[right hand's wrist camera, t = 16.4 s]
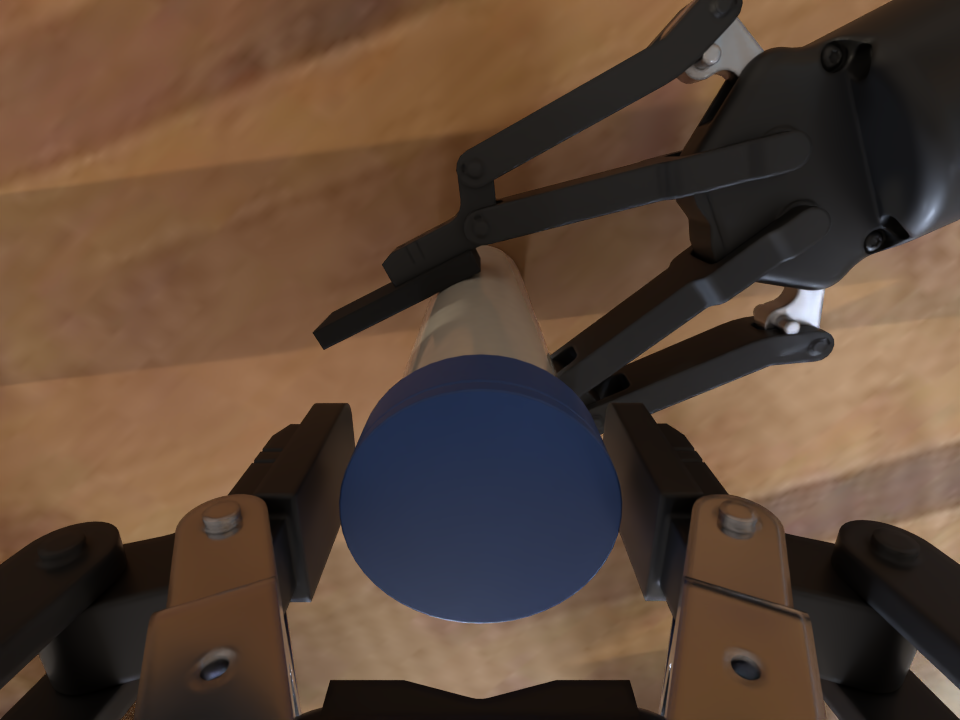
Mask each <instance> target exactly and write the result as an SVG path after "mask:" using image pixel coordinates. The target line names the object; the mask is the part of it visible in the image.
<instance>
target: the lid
mask: <svg viewBox="0 0 960 720" xmlns="http://www.w3.org/2000/svg"><path fill="white" fill-rule="evenodd" d="M339 513H340V521H341V526H342V531H343V535H344V537H345V540H346V543H347V546H348V548H349V550H350V552H351V554H352V556H353V557H354V559H355V561H356V562H357V564H358V565H359V567H360V568H361V569H362V571H363V572H364V573H365V574H366V575H367V576H368V578H369V579H370V580H371V581H372V582H373V583H374V584H375V585H376V586H378V587H379V588H380V589H381V590H382V591H384V592H385V593H386V594H387V595H389V596H391V597H392V598H394V599H395V600H397V601H398V602H400V603H402V604H404V605H406V606H408V607H410V608H412V609H414V610H416V611H419V612H421V613H424V614H427V615H429V616H433V617H437V618H441V619H445V620H449V621H456V622H463V623H498V622H505V621H512V620H516V619H520V618H524V617H528V616H532V615H534V614H537V613H540V612H543V611H545V610H547V609H549V608H551V607H553V606H555V605H558V604H560V603H561V602H563V601H564V600H566V599H568V598H569V597H571V596H572V595H574V594H575V593H576V592H577V591H579V590H580V589H581V588H582V587H584V586H585V585H586V584H587V583H588V582H589V581H590V580H591V579H592V578H593V577H594V576H595V575H596V574H597V572H598V571H599V569H600V568H601V567H602V565H603V564H604V563H605V561H606V560H607V558H608V556H609V554H610V552H611V550H612V549H613V546H614V544H615V541H616V538H617V536H618V533H619V528H620V523H621V518H622V495H621V487H620V483H619V479H618V476H617V472H616V470H615V467H614V465H613V463H612V461H611V458H610V456H609V454H608V452H607V449H606V447H605V445H604V443H603V440H602V438H601V436H600V433H599V431H598V429H597V427H596V425H595V422H594V420H593V418H592V416H591V414H590V412H589V411H588V409H587V408H586V406H585V405H584V403H583V402H582V400H581V399H580V398H579V397H578V396H577V395H576V394H575V392H574V391H573V390H572V389H571V388H569V387H568V386H567V385H566V384H565V383H564V382H562V381H561V380H560V379H558V378H557V377H555V376H554V375H552V374H551V373H549V372H548V371H546V370H544V369H541V368H539V367H537V366H535V365H533V364H531V363H527V362H524V361H521V360H518V359H515V358H510V357H504V356H499V355H485V354H477V355H462V356H457V357H451V358H446V359H443V360H440V361H437V362H434V363H431V364H428V365H426V366H424V367H422V368H420V369H418V370H415V371H414V372H412V373H411V374H409V375H407V376H406V377H404V378H403V379H401V380H400V381H399V382H398V383H397V384H395V385H394V386H393V387H392V388H391V389H389V390H388V392H387V393H386V394H385V395H384V396H383V397H382V398H381V399H380V401H379V402H378V403H377V405H376V406H375V408H374V409H373V411H372V412H371V414H370V416H369V418H368V420H367V423H366V425H365V427H364V429H363V431H362V434H361V436H360V438H359V441H358V443H357V445H356V448H355V450H354V452H353V454H352V457H351V459H350V461H349V464H348V466H347V468H346V471H345V474H344V477H343V481H342V484H341V490H340V498H339Z"/></svg>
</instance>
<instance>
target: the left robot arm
mask: <svg viewBox="0 0 960 720" xmlns="http://www.w3.org/2000/svg"><path fill="white" fill-rule="evenodd" d="M742 4H743V3H742V0H693V1H692V2H690V3H689V4H688V5H686V6H685V7H684V8H683V9H681V10H680V11H679V12H678V13H677V14H676V16H675V17H674V18H673V19H672V20H671V21H670V22H669V23H668V24H667V26H666V27H665V28H664V29H663V30H662V31H661V32H660V33H659V35H658V36H657V37H656V38H655V39H654V40H653V41H652V42H651V44H650V45H649V46H648V47H647V48H646V49H644V50H642V51H641V52H639V53H637V54H635V55H634V56H632V57H630V58H628V59H627V60H625V61H623V62H621V63H620V64H618V65H616V66H614V67H613V68H611V69H609V70H607V71H606V72H604V73H602V74H600V75H599V76H597V77H595V78H593V79H592V80H590V81H588V82H586V83H585V84H583V85H581V86H579V87H578V88H576V89H574V90H572V91H571V92H569V93H567V94H565V95H564V96H562V97H560V98H558V99H557V100H555V101H553V102H551V103H550V104H548V105H546V106H544V107H543V108H541V109H539V110H537V111H536V112H534V113H532V114H530V115H529V116H527V117H525V118H523V119H522V120H520V121H518V122H516V123H515V124H513V125H511V126H509V127H508V128H506V129H504V130H502V131H501V132H499V133H497V134H495V135H494V136H492V137H490V138H488V139H487V140H485V141H483V142H481V143H480V144H478V145H476V146H474V147H473V148H471V149H469V150H467V151H466V152H465V153H463V154H462V155H461V156H460V158H459V160H458V162H457V169H456V171H457V175H458V183H459V191H460V198H461V206H460V210H459V212H458V213H457V214H456V215H455V216H454V217H453V218H452V219H450V220H448V221H446V222H444V223H442V224H440V225H438V226H437V227H435V228H433V229H431V230H429V231H427V232H425V233H423V234H421V235H420V236H417V237H416V238H414V239H412V240H410V241H408V242H406V243H404V244H402V245H400V246H398V247H397V248H396V249H395V250H394V251H393V252H392V253H391V254H390V255H389V257H388V258H387V259H386V260H385V261H384V263H383V264H382V266H383V267H384V269H385V271H386V273H387V274H388V276H389V278H390V280H391V281H392V282H391V283H389V284H387V285H385V286H383V287H381V288H379V289H377V290H375V291H373V292H371V293H369V294H367V295H365V296H363V297H362V298H360V299H358V300H356V301H354V302H352V303H350V304H348V305H346V306H344V307H342V308H340V309H338V310H336V311H334V312H332V313H331V314H330V315H329V316H328V317H327V318H326V319H325V321H324V322H323V323H322V324H321V325H320V326H319V327H318V328H317V329H316V330H315V331H314V332H313V334H314V336H315V337H316V339H317V340H318V342H319V343H320V345H321V346H322V348H323V349H324V350H325V349H327V348H329V347H331V346H333V345H335V344H337V343H339V342H341V341H343V340H345V339H347V338H349V337H351V336H353V335H355V334H357V333H359V332H361V331H363V330H365V329H367V328H369V327H371V326H373V325H375V324H377V323H379V322H381V321H383V320H385V319H387V318H389V317H391V316H393V315H395V314H397V313H399V312H401V311H403V310H405V309H407V308H409V307H411V306H413V305H415V304H417V303H419V302H421V301H423V300H425V299H427V298H429V297H431V296H433V295H435V294H437V293H439V292H441V291H443V290H445V289H447V288H449V287H451V286H452V285H455V284H457V283H459V282H461V281H463V280H465V279H467V278H469V277H471V276H473V275H475V274H477V273H479V272H481V258H480V256H479V254H478V252H477V250H476V248H477V247H479V246H481V245H488V244H492V243H496V242H500V241H504V240H508V239H512V238H516V237H520V236H524V235H528V234H532V233H536V232H540V231H544V230H548V229H552V228H556V227H560V226H563V225H567V224H571V223H575V222H579V221H583V220H587V219H591V218H595V217H599V216H603V215H607V214H611V213H615V212H619V211H623V210H627V209H631V208H635V207H639V206H643V205H647V204H650V203H654V202H658V201H663V200H671V199H676V202H677V203H678V204H679V206H680V207H681V209H682V210H683V211H684V213H685V214H686V215H687V217H688V219H689V234H690V242H691V244H692V245H691V246H690V247H689V248H687V249H686V250H685V251H683V252H682V253H681V254H679V255H678V256H677V257H675V258H674V259H673V260H672V262H671V263H670V266H669V267H668V268H667V269H666V270H665V271H664V272H662V273H661V274H660V275H658V276H657V277H656V278H654V279H653V280H652V281H650V282H649V283H648V284H646V285H645V286H643V287H642V288H641V289H639V290H638V291H637V292H635V293H634V294H633V295H631V296H630V297H629V298H627V299H626V300H625V301H623V302H622V303H620V304H619V305H618V306H616V307H615V308H614V309H612V310H611V311H610V312H608V313H607V314H606V315H604V316H603V317H602V318H600V319H599V320H597V321H596V322H595V323H593V324H592V325H591V326H589V327H588V328H587V329H585V330H584V331H583V332H581V333H580V334H579V335H577V336H576V337H574V338H573V339H572V340H570V341H569V342H568V343H566V344H565V345H564V346H562V347H561V348H560V349H558V350H557V351H556V352H554V353H553V354H551V355H550V356H551V359H552V362H553V364H554V367H555V370H556V373H557V375H558V378H559V379H560V380H561V381H562V382H564V383H565V384H566V385H567V386H568V387H569V388H571V389H572V390H573V391H574V392H575V394H576V395H577V396H578V397H579V398H580V399H581V400H582V402H583V403H584V405H585V406H586V408H587V409H588V411H589V412H590V414H591V416H592V418H593V420H594V422H595V425H596V427H597V429H598V431H599V433H600V435H601V434H603V433H604V425H605V415H606V409H607V406H608V404H609V403H643V404H644V405H645V407H646V408H647V410H648V411H649V413H650V414H652V413H655V412H657V411H660V410H662V409H665V408H667V407H670V406H672V405H675V404H677V403H679V402H682V401H684V400H687V399H689V398H692V397H694V396H697V395H699V394H702V393H704V392H707V391H709V390H711V389H714V388H716V387H719V386H721V385H724V384H726V383H729V382H731V381H734V380H736V379H739V378H741V377H743V376H746V375H748V374H751V373H753V372H756V371H758V370H761V369H763V368H766V367H768V366H770V365H781V364H792V363H803V362H814V361H819V360H822V359H824V358H825V357H827V356H828V355H829V354H830V353H831V351H832V349H833V347H834V339H833V337H832V335H831V334H829V333H827V332H826V331H824V330H822V329H820V327H819V326H820V320H821V313H822V306H823V299H824V292H825V288H828V287H830V286H832V285H834V284H835V283H837V282H838V281H840V280H841V279H842V278H843V277H844V276H845V275H846V274H847V273H848V272H849V270H850V269H851V268H852V267H854V266H855V265H856V264H857V263H858V262H859V261H861V260H862V259H864V258H865V257H867V256H869V255H871V254H874V253H877V252H880V251H883V250H886V249H889V248H892V247H895V246H898V245H901V244H904V243H907V242H909V241H912V240H914V239H917V238H919V237H921V236H923V235H926V234H928V233H930V232H932V231H935V230H937V229H939V228H941V227H944V226H946V225H948V224H950V223H953V222H955V221H957V220H959V219H960V0H892V1H890V2H888V3H887V4H885V5H883V6H881V7H879V8H877V9H875V10H873V11H871V12H869V13H867V14H865V15H864V16H862V17H860V18H858V19H856V20H854V21H852V22H850V23H848V24H846V25H844V26H842V27H840V28H839V29H837V30H835V31H833V32H831V33H829V34H827V35H825V36H823V37H821V38H819V39H817V40H815V41H814V42H812V43H810V44H808V45H806V46H804V47H798V48H789V47H776V48H771V49H768V50H766V51H764V50H763V49H762V48H761V47H760V45H759V44H758V43H757V42H756V40H755V39H754V38H753V36H752V35H751V34H750V33H749V31H748V30H747V29H746V27H745V26H744V25H743V24H742V22H741V21H740V20H739V19H738V17H737V16H738V15H739V13H740V11H741V7H742ZM713 74H717V75H720V76H722V77H723V78H724V79H725V82H724V84H723V85H722V87H721V89H720V90H719V92H718V93H717V95H716V97H715V98H714V100H713V102H712V103H711V105H710V107H709V108H708V110H707V111H706V113H705V115H704V116H703V118H702V120H701V121H700V123H699V125H698V126H697V128H696V129H695V131H694V133H693V134H692V136H691V138H690V139H689V141H688V143H687V144H686V146H685V147H684V149H683V150H681V151H678V152H674V153H670V154H666V155H662V156H658V157H655V158H651V159H647V160H644V161H641V162H639V163H635V164H632V165H628V166H624V167H620V168H616V169H612V170H609V171H605V172H601V173H597V174H593V175H589V176H586V177H582V178H578V179H574V180H570V181H566V182H563V183H559V184H555V185H551V186H547V187H543V188H540V189H536V190H532V191H528V192H524V193H520V194H516V195H513V196H509V197H505V198H501V199H497V200H496V197H495V188H494V179H496V178H498V177H500V176H502V175H503V174H505V173H507V172H509V171H511V170H512V169H514V168H516V167H518V166H520V165H522V164H523V163H525V162H527V161H529V160H531V159H532V158H534V157H536V156H538V155H540V154H541V153H543V152H545V151H547V150H549V149H550V148H552V147H554V146H556V145H558V144H559V143H561V142H563V141H565V140H567V139H568V138H570V137H572V136H574V135H576V134H577V133H579V132H581V131H583V130H585V129H586V128H588V127H590V126H592V125H594V124H595V123H597V122H599V121H601V120H603V119H604V118H606V117H608V116H610V115H612V114H613V113H615V112H617V111H619V110H621V109H623V108H624V107H626V106H628V105H630V104H632V103H633V102H635V101H637V100H639V99H641V98H642V97H644V96H646V95H648V94H650V93H651V92H653V91H655V90H657V89H659V88H660V87H662V86H664V85H666V84H667V83H669V82H670V81H672V80H674V79H675V78H677V79H679V80H680V81H681V82H683V83H685V84H692V83H696V82H699V81H701V80H704V79H707V78H709V77H710V76H712V75H713ZM754 282H759V283H765V284H771V285H777V286H783V287H784V290H783V292H782V293H781V295H780V296H779V297H778V298H776V299H775V300H772V301H770V302H767V303H764V304H759V305H758V306H756V307H755V308H754V311H753V315H754V316H751V317H744V318H740V319H736V320H732V321H730V322H727V323H724V324H722V325H719V326H717V327H714V328H712V329H710V330H707V331H705V332H703V333H700V334H698V335H696V336H693V337H691V338H689V339H686V340H684V341H682V342H679V343H677V344H674V345H672V346H670V347H667V348H665V349H663V350H660V351H658V352H656V353H653V354H651V355H649V356H646V357H644V358H642V359H639V360H637V361H635V362H632V363H630V364H628V363H629V362H631V361H632V360H634V359H635V358H636V357H638V356H639V355H641V354H642V353H644V352H645V351H646V350H648V349H649V348H651V347H652V346H653V345H655V344H656V343H658V342H659V341H661V340H662V339H663V338H665V337H666V336H668V335H669V334H670V333H672V332H673V331H675V330H676V329H678V328H679V327H680V326H682V325H683V324H685V323H686V322H688V321H689V320H690V319H692V318H693V317H695V316H696V315H697V314H699V313H700V312H702V311H703V310H705V309H706V308H708V307H710V306H714V305H720V304H722V303H725V302H727V301H728V300H730V299H731V298H733V297H734V296H736V295H737V294H739V293H740V292H741V291H743V290H744V289H746V288H747V287H749V286H750V285H751V284H753V283H754ZM626 364H627V365H626Z"/></svg>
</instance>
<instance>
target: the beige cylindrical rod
mask: <svg viewBox="0 0 960 720" xmlns="http://www.w3.org/2000/svg"><path fill="white" fill-rule="evenodd" d="M476 250H477V252H478V254H479V256H480V258H481V272H479V273H477V274H475V275H473V276H471V277H469V278H467V279H465V280H463V281H461V282H459V283H457V284H455V285H452V286H451V287H449V288H447V289H445V290H443V291H441V292H439V293H437V294H435V295H433V296H432V297H431V299H430V302H429V305H428V308H427V310H426V313H425V316H424V319H423V322H422V324H421V327H420V330H419V333H418V336H417V338H416V341H415V344H414V347H413V350H412V352H411V355H410V358H409V361H408V364H407V366H406V369H405V372H404V375H403V378H404V377H406V376H407V375H409V374H411V373H412V372H414V371H415V370H418V369H420V368H422V367H424V366H426V365H428V364H431V363H434V362H437V361H440V360H443V359H446V358H451V357H457V356H462V355H477V354H485V355H499V356H504V357H510V358H515V359H518V360H521V361H524V362H527V363H531V364H533V365H535V366H537V367H539V368H541V369H544V370H546V371H548V372H549V373H551V374H552V375H554V376H555V377H557V378H558V375H557V373H556V370H555V367H554V364H553V362H552V359H551V356H550V353H549V351H548V348H547V345H546V343H545V340H544V337H543V334H542V332H541V329H540V326H539V323H538V321H537V318H536V315H535V312H534V310H533V307H532V304H531V301H530V299H529V296H528V293H527V291H526V288H525V285H524V282H523V280H522V277H521V274H520V272H519V269H518V267H517V265H516V264H515V262H514V261H513V260H512V259H511V258H510V257H509V256H508V255H507V254H506V253H504V252H503V251H501V250H499V249H497V248H495V247H492V246H488V245H481V246H479V247H477V248H476ZM403 378H402V379H403ZM558 379H559V378H558Z"/></svg>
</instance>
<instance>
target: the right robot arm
mask: <svg viewBox="0 0 960 720" xmlns="http://www.w3.org/2000/svg"><path fill="white" fill-rule="evenodd" d="M603 443H604V445H605V447H606V449H607V452H608V454H609V456H610V458H611V461H612V463H613V465H614V467H615V470H616V472H617V476H618V479H619V483H620V487H621V495H622V518H621V523H620V528H619V532H620V535H621V537H622V540H623V543H624V545H625V548H626V551H627V553H628V556H629V559H630V561H631V564H632V566H633V569H634V572H635V574H636V577H637V580H638V582H639V585H640V588H641V590H642V593H643V596H644V598H645V601H667V604H668V606H669V608H670V611H671V613H672V615H673V619H672V624H671V630H670V637H669V644H668V651H667V658H666V665H665V671H664V678H663V685H662V692H661V699H660V706H659V712H658V714H656V713H654V712H651V711H648V710H645V709H641V708H638V707H637V704H636V701H635V697H634V694H633V690H632V687H631V683H630V680H555V681H551V682H548V683H544V684H540V685H536V686H532V687H528V688H525V689H521V690H517V691H513V692H509V693H506V694H502V695H498V696H494V697H490V698H486V699H474V698H470V697H466V696H462V695H458V694H454V693H451V692H447V691H443V690H439V689H435V688H432V687H428V686H424V685H420V684H416V683H412V682H409V681H405V680H330V683H329V687H328V690H327V694H326V697H325V701H324V704H323V707H322V708H319V709H315V710H312V711H309V712H306V713H304V714H302V712H301V706H300V699H299V692H298V685H297V678H296V671H295V665H294V658H293V651H292V644H291V637H290V630H289V624H288V619H287V613H286V610H287V608H288V605H289V603H290V602H311V601H312V598H313V595H314V593H315V590H316V588H317V585H318V582H319V580H320V577H321V575H322V572H323V569H324V567H325V564H326V562H327V559H328V556H329V554H330V551H331V549H332V546H333V543H334V541H335V538H336V536H337V533H338V530H339V528H340V525H341V521H340V513H339V498H340V490H341V484H342V481H343V477H344V474H345V471H346V468H347V466H348V464H349V461H350V459H351V457H352V454H353V452H354V450H355V441H354V431H353V421H352V412H351V408H350V405H349V404H348V403H315V404H314V405H313V406H312V408H311V409H310V411H309V412H308V413H307V415H306V416H305V418H304V419H303V421H302V422H301V424H290V425H289V426H287V427H286V428H284V429H282V430H281V431H279V432H278V433H276V434H275V435H273V436H272V437H271V439H270V440H269V441H268V443H267V444H266V445H265V447H264V448H263V451H262V452H260V453H259V455H258V456H257V457H256V458H255V460H254V463H252V464H251V465H250V466H249V468H248V469H247V470H246V472H245V473H244V474H243V476H242V477H241V478H240V480H239V481H238V482H237V484H236V485H235V486H234V488H233V489H232V490H231V492H230V493H229V494H228V495H227V496H222V497H219V498H215V499H212V500H210V501H207V502H205V503H203V504H201V505H199V506H197V507H196V508H194V509H193V510H191V511H190V512H188V513H187V514H186V515H185V516H184V517H183V518H182V519H181V521H180V522H179V524H178V525H177V528H176V532H175V533H173V534H170V535H166V536H162V537H157V538H152V539H147V540H142V541H137V542H132V543H128V544H122V541H121V538H120V534H119V531H118V529H117V528H116V527H115V526H114V525H112V524H109V523H106V522H85V523H79V524H75V525H71V526H67V527H64V528H61V529H58V530H56V531H53V532H51V533H49V534H46V535H44V536H42V537H40V538H39V539H37V540H35V541H33V542H32V543H30V544H29V545H27V546H26V547H24V548H23V549H21V550H20V551H19V552H17V553H16V554H14V555H13V556H12V557H10V558H9V559H7V560H6V561H5V562H3V563H2V564H0V689H1V688H2V687H3V686H4V685H6V684H7V683H8V682H9V681H10V680H11V679H12V678H13V677H14V676H15V675H16V674H17V673H18V672H19V671H20V670H22V669H23V668H24V667H25V666H26V665H27V664H28V663H29V662H30V661H31V660H32V659H33V658H34V657H35V656H36V655H38V654H39V657H40V659H41V661H42V664H43V666H44V668H45V671H46V674H45V675H44V676H43V677H42V678H41V679H40V680H39V681H38V682H37V683H36V684H35V685H34V686H33V687H32V688H31V689H30V690H29V691H28V692H27V693H26V694H25V695H24V696H23V697H22V698H21V699H20V700H19V701H18V702H17V703H16V704H15V705H14V706H13V707H12V708H11V709H10V710H9V711H8V712H7V713H6V714H5V715H4V716H3V717H2V718H1V719H0V720H121V719H122V717H123V716H124V715H125V714H126V712H127V711H128V710H129V709H130V707H131V706H132V705H133V703H134V702H135V701H136V700H137V701H136V707H135V713H134V720H826V713H825V707H824V701H825V702H826V703H827V705H828V706H829V707H830V709H831V710H832V711H833V712H834V714H835V715H836V716H837V717H838V719H839V720H960V719H959V718H958V717H957V716H956V715H955V714H954V713H953V712H952V711H951V710H950V709H949V708H948V707H947V706H946V705H945V704H944V703H943V702H942V701H941V700H940V699H939V698H938V697H937V696H936V695H935V694H934V693H933V692H932V691H931V690H930V689H929V688H928V687H927V686H926V685H925V684H924V683H923V682H922V681H921V680H920V679H919V678H918V677H917V676H916V675H915V674H914V673H913V672H912V671H911V670H910V669H909V668H910V665H911V663H912V661H913V658H914V656H915V653H916V651H917V650H918V651H919V652H920V653H921V654H922V655H924V656H925V657H926V658H927V659H928V660H929V661H930V662H931V663H932V664H933V665H934V666H935V667H936V668H937V669H938V670H940V671H941V672H942V673H943V674H944V675H945V676H946V677H947V678H948V679H949V680H950V681H951V682H952V683H953V684H954V685H955V686H957V687H958V688H959V689H960V564H958V563H957V562H955V561H954V560H953V559H951V558H950V557H948V556H947V555H946V554H944V553H943V552H941V551H940V550H939V549H937V548H936V547H934V546H933V545H932V544H930V543H929V542H927V541H925V540H924V539H922V538H920V537H918V536H917V535H915V534H913V533H910V532H908V531H906V530H904V529H901V528H898V527H896V526H892V525H889V524H885V523H881V522H876V521H869V520H855V521H850V522H847V523H845V524H844V525H842V526H841V528H840V530H839V533H838V536H837V540H836V543H835V544H833V543H829V542H824V541H819V540H814V539H809V538H804V537H799V536H794V535H790V534H786V533H785V532H784V528H783V525H782V524H781V522H780V521H779V519H778V518H777V517H776V516H775V515H774V514H773V513H772V512H770V511H769V510H767V509H766V508H764V507H763V506H761V505H759V504H757V503H755V502H753V501H750V500H748V499H745V498H741V497H738V496H733V495H729V494H728V493H727V492H726V490H725V489H724V488H723V486H722V485H721V484H720V482H719V481H718V480H717V478H716V477H715V476H714V474H713V473H712V472H711V470H710V469H709V468H708V466H707V465H706V464H705V462H702V458H701V457H700V456H699V454H698V453H697V452H696V451H694V448H693V446H692V445H691V444H690V442H689V441H688V440H687V438H686V437H685V435H683V434H682V433H680V432H679V431H677V430H676V429H674V428H672V427H671V426H669V425H668V424H657V423H656V422H655V420H654V419H653V417H652V416H651V414H650V413H649V411H648V410H647V408H646V407H645V405H644V404H643V403H609V404H608V406H607V409H606V415H605V425H604V435H603ZM823 700H824V701H823Z"/></svg>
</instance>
